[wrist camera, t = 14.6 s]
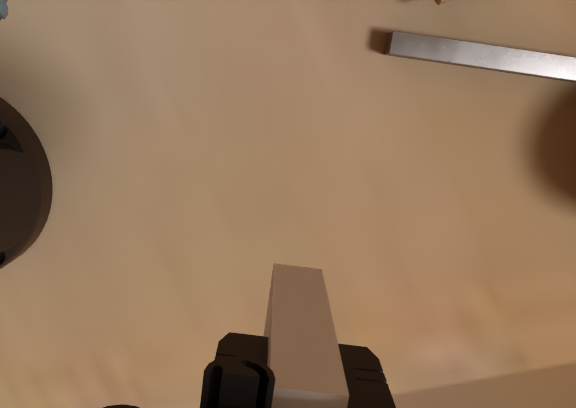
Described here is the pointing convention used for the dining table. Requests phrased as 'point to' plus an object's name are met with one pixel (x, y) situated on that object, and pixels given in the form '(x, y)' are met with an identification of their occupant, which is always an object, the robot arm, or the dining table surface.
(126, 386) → the dining table surface
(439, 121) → the dining table surface
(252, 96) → the dining table surface
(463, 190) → the dining table surface
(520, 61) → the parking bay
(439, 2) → the carved wooden block
